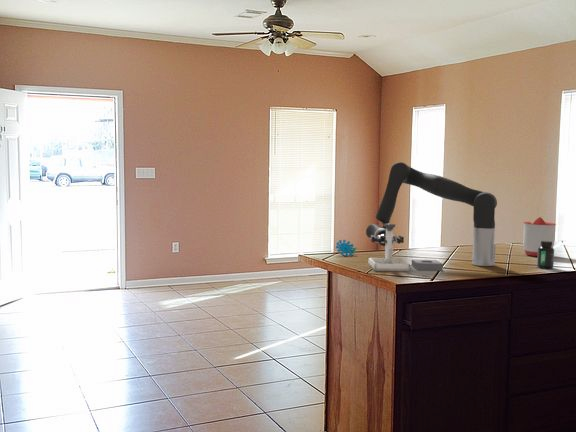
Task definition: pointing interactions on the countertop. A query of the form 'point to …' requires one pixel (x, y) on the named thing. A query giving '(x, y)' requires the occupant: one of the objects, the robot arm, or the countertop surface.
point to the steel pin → (389, 243)
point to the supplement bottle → (545, 255)
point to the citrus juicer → (537, 235)
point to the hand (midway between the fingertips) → (390, 241)
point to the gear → (345, 248)
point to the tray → (380, 265)
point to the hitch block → (427, 265)
